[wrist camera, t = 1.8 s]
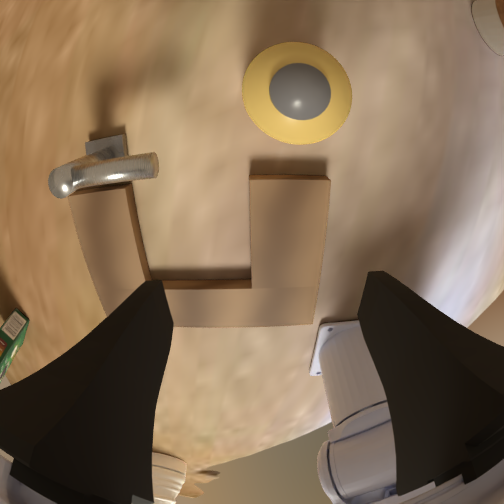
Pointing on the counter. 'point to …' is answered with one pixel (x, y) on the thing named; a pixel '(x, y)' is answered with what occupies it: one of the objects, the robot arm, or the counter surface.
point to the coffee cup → (490, 23)
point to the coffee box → (11, 339)
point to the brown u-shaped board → (217, 291)
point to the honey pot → (167, 477)
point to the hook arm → (102, 167)
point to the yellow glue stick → (297, 93)
